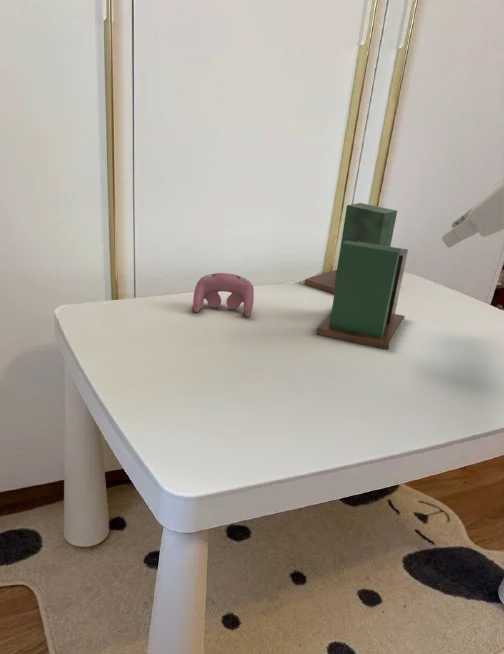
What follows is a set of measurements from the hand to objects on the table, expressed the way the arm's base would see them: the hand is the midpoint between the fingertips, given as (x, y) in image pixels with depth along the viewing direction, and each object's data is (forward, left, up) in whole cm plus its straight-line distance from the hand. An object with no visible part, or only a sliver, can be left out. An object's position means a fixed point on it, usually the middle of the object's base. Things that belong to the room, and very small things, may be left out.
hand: (449, 235), depth 86 cm
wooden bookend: (+10, -5, -17) cm, 20 cm away
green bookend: (+14, -27, -17) cm, 34 cm away
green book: (+10, -1, -16) cm, 19 cm away
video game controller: (+32, -3, -17) cm, 37 cm away
